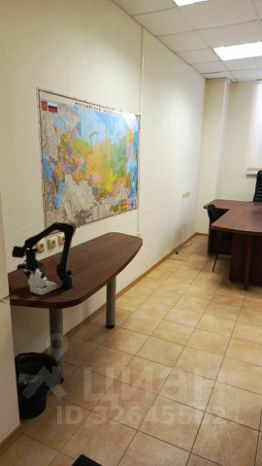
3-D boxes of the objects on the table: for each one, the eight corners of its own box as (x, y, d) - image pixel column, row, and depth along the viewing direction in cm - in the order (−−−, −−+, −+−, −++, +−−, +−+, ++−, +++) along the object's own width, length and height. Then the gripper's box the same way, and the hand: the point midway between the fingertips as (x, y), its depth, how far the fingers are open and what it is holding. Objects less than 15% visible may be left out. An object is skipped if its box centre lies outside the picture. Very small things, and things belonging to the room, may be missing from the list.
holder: (56, 288, 187) (56, 283, 187) (41, 295, 177) (41, 290, 177) (45, 284, 192) (45, 280, 191) (30, 291, 182) (29, 286, 181)
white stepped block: (37, 279, 191) (42, 265, 185) (44, 287, 188) (49, 273, 182) (27, 282, 185) (32, 268, 180) (33, 291, 183) (39, 276, 177)
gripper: (52, 258, 187) (52, 283, 191) (30, 252, 197) (31, 275, 200) (37, 263, 178) (37, 288, 182) (16, 256, 188) (16, 280, 191)
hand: (31, 283), depth 189 cm, fingers closed, pressing on white stepped block
